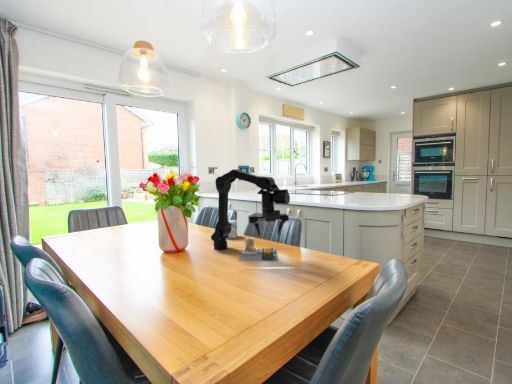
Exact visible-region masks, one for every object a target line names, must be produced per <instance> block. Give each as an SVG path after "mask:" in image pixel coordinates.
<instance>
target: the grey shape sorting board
mask: <svg viewBox="0 0 512 384" xmlns="http://www.w3.org/2000/svg"><path fill="white" fill-rule="evenodd" d="M264 248H265V247H261V248H258V247H254V252H246V247H243V249H241V252H240V255H239V257H238V262H277V261H278V252H277V251H278V250H277V248H275V247H270V248H271V254H264Z"/></svg>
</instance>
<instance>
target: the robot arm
mask: <svg viewBox="0 0 512 384" xmlns="http://www.w3.org/2000/svg"><path fill="white" fill-rule="evenodd" d="M237 179H238V180H242V181H244V182H248V183H250V184H254V186H256V187H257V188H259V189H260V190H259V191H258V192H257V195H261V216H258V215H257V214H250V215H248V217H247V218H248V219H247V221H248V223H249V224H251V225H254V227H255V231H256V233H257V235H258V237H261V234H260V233H261V232H260V226H259V222H258V221H265V222H266V223H269V222H276V221H277V227H276V228H277V229H276V230H277V236H279V235H280V233H281V229H282V227H283V225H284V224H285V223H287V222H289V220H290V219H289V218H290V217H289V215H288V214H287V213H281V210H280V209H278V210H277V209H276V210H275V204H276V205H289V203H290V200H291V196H290V193H289V190H288V189H280V188H279V186H278V185H277V184H276V181H275V179H274V178H273V177H272V176H261V175H256V174H252V173H249V172H245V171H242V170H240V169H237V168H236V169H231V170H229V171H228V172H226V173H224V174H223V175H221V176H217V178H216V179H215V188H216V191H217V193H218V209H217V211H218V216H217V217H218V218H217V219H218V221H217V222H216V225H215V228H214V232H213V234H212V235H211V236H210V239H211V241H213V250H215V251H223V250H228V246H229V243H228V240H227V239H229V238H228V236H229V234H230V232H231V231H232V229H231V225H232V224H231V223H229V222H228V220H229V219H228V215H229V212H228V211H229V192H230V191H231V188H232V184H233V183H234V182H235V181H236V180H237Z"/></svg>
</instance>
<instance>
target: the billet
mask: <svg viewBox="0 0 512 384" xmlns="http://www.w3.org/2000/svg"><path fill="white" fill-rule="evenodd" d="M245 248H246V252H254V248H255V237H253V236H251V237H245Z"/></svg>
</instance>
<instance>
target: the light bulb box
mask: <svg viewBox="0 0 512 384" xmlns="http://www.w3.org/2000/svg"><path fill="white" fill-rule="evenodd" d="M228 222H229V223H231V224H232V225H231V229H232V231H231V232H230V234H229V236H228V238H227V239H236V238H237V236H238V222H237V219H228Z"/></svg>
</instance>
